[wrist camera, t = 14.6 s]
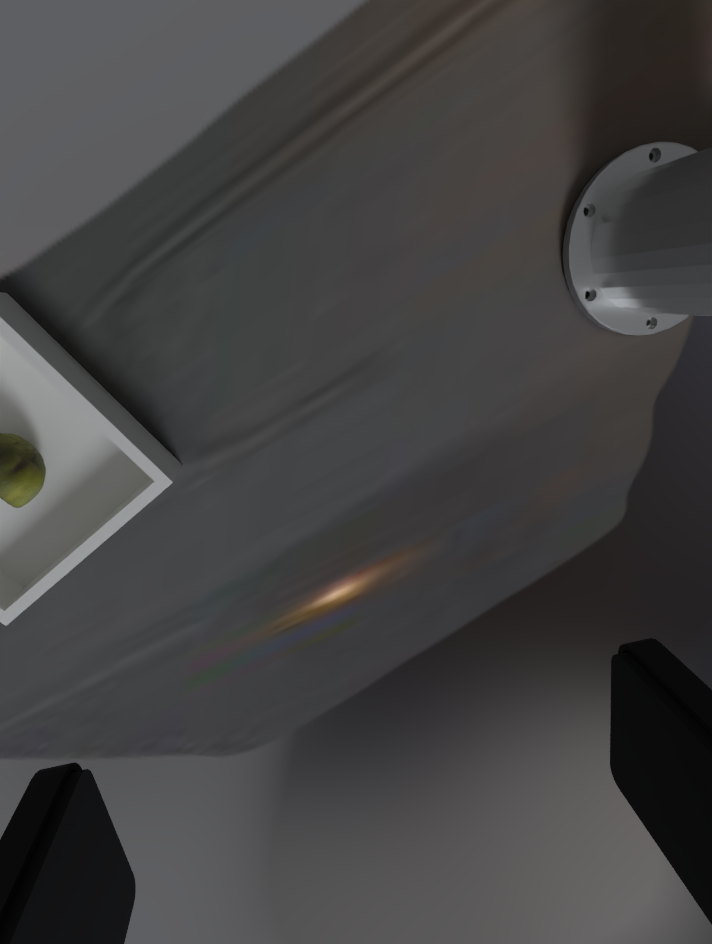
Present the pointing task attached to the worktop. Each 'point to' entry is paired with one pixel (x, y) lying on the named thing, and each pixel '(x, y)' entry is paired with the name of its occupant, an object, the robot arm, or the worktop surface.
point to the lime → (19, 470)
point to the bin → (66, 461)
